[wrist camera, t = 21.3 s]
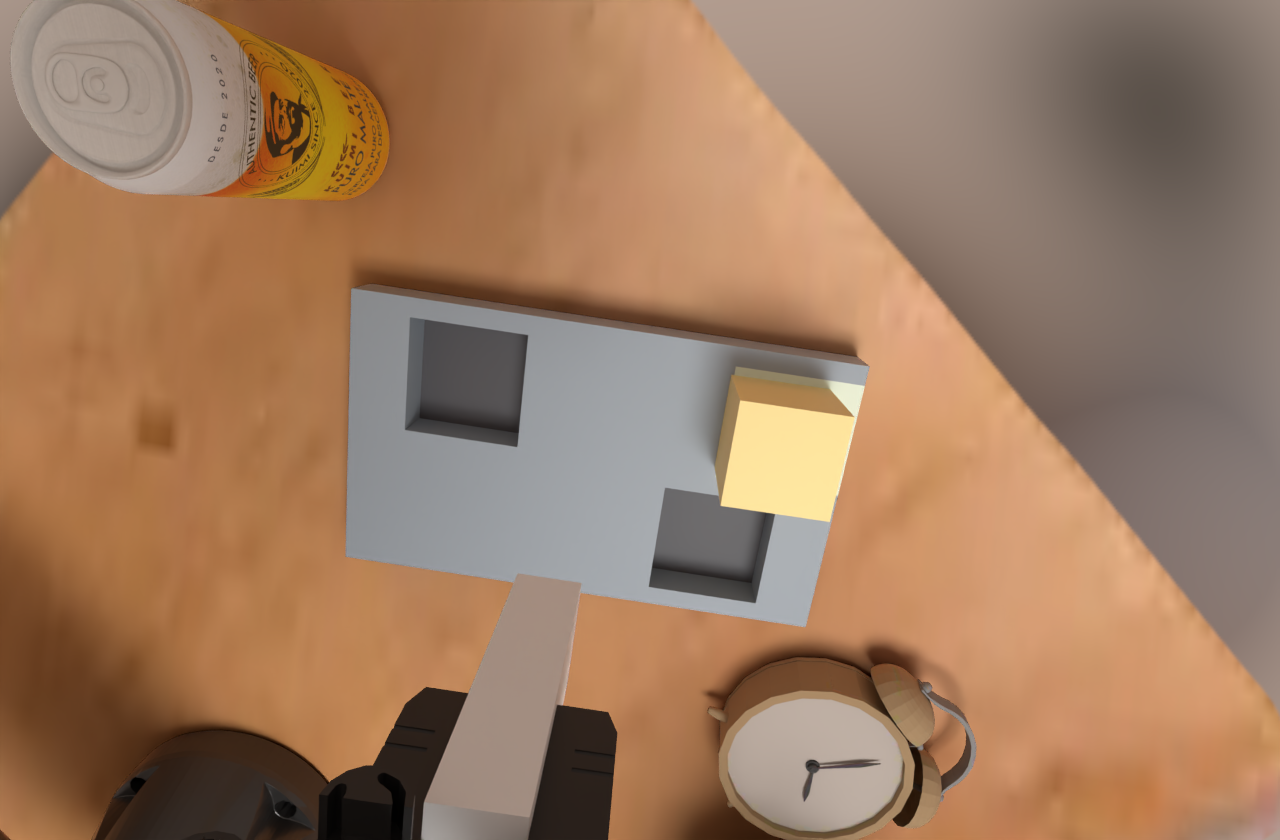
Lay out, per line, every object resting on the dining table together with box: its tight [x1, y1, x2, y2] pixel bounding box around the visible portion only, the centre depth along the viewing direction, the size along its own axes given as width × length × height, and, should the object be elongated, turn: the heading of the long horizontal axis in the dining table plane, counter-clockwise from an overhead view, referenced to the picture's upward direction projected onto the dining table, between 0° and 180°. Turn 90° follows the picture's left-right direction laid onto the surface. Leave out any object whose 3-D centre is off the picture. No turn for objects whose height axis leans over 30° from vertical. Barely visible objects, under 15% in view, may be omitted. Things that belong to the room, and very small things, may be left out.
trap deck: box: [346, 284, 870, 627], centre depth 38 cm, size 26×15×2 cm, turn 82°
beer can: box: [10, 0, 390, 201], centre depth 28 cm, size 6×6×15 cm
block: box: [715, 375, 855, 522], centre depth 33 cm, size 5×5×5 cm
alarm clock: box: [707, 657, 976, 840], centre depth 42 cm, size 11×5×15 cm
